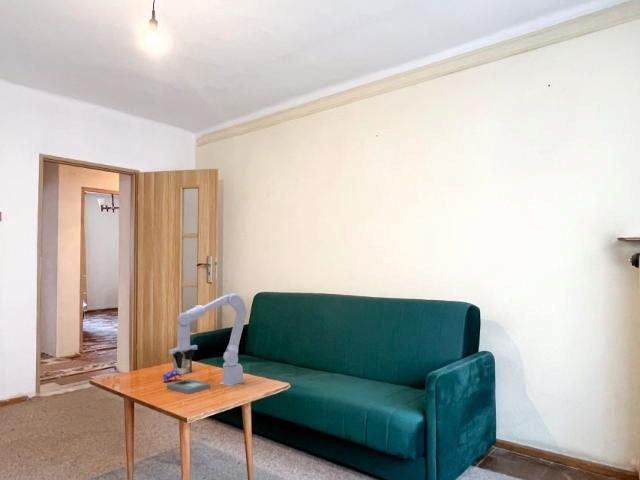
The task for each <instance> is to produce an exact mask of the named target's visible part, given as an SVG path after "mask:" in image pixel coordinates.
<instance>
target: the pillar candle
mask: <svg viewBox="0 0 640 480" xmlns="http://www.w3.org/2000/svg"><path fill="white" fill-rule="evenodd" d="M174 348H177V346H175V347H173V348H172V349H174ZM182 351H183V350H182ZM181 354H183V357H182V359H185V354H184V352H181ZM192 359H193V357H192V358H191V361H190V373H186V374H185V375H187V374H191V373H192V372H193V360H192ZM174 369H177V364H176V360H175V358H174V357H173V370H174ZM181 376H182V374H181Z"/></svg>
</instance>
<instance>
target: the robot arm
mask: <svg viewBox="0 0 640 480" xmlns="http://www.w3.org/2000/svg"><path fill="white" fill-rule="evenodd" d="M228 305H229V306H231V307H232V308H233V310H234V312H235V318H234V323H233V326H232V329H231V334H230V339H229V343H228V345H227V347H226V350H225V352H223V357H222V359H223V360H224V362H223V364H222V381H221V382H219V384H220V385H225V386H235V385H237V384H241V383H245V381H244V373H243V372H244V369H243V365H242V364H241V363H238V362H239V357H238V354H239V345H240V340H241V337H242V333H243V328H244V325H245V320H246V316H247V312H248V311H247V308H246V305H245V301H244V299H243V298H242V296H241V295H239V294H238V293H235V292H231V293H229V294H225V295H222V296H220V297H218V298H216V299H214V300H212V301H210V302H208V303H207V304H205V305H201V304H199V305H197V304H196V305H194V307H193V308H191V309H189V310H188V309H186V310H185V312H181V313H179V314H178V316H177V322H178V323H177V346H176V347H177V348H174V347H173V348H174V349H173V348H172V349H169V350H168V353H169V355H172V357H173V359H174V358H175V360H176V364H177V368H181V367H182V357H183V354H181V352H184V354H185V359H188V360H190V361H191V358H192V359H193V357H194V355H195V351H196V350H198V345H197V344H193V345H191V328H190V323H191V322H194V321H197V320H198V319H201V318H202V317H205V315H206V314H207V312H208V311H209V312H210V311H212V310H213V309H215V308H218V307H220V306H228ZM182 350H183V351H182Z"/></svg>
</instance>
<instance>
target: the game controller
mask: <svg viewBox="0 0 640 480" xmlns="http://www.w3.org/2000/svg"><path fill="white" fill-rule="evenodd" d="M177 376H179V377H180V378H183V376H184V374H182V375H181V374H179V373H177V369H174V368H173V369H172V370H170V371H168V372H165V373H163V375H162V380H164V382H165V383H167V384H168V382H169V380H170V383H172V381H173V378H175V379H178V377H177ZM170 383H169V384H170Z"/></svg>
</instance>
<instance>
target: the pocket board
mask: <svg viewBox="0 0 640 480" xmlns="http://www.w3.org/2000/svg"><path fill="white" fill-rule="evenodd" d="M166 389H167V390H169V391H174V392H179V393H182V394H186V395H191V394H194V393H197V392H202V391H204V390H208V389H211V383H208V382H204V381H201V380H195V379H192V378H187V379H186V378H185V379H183V380H179V381H178V380H177V381H174V382H171V383H167V384H166Z"/></svg>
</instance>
